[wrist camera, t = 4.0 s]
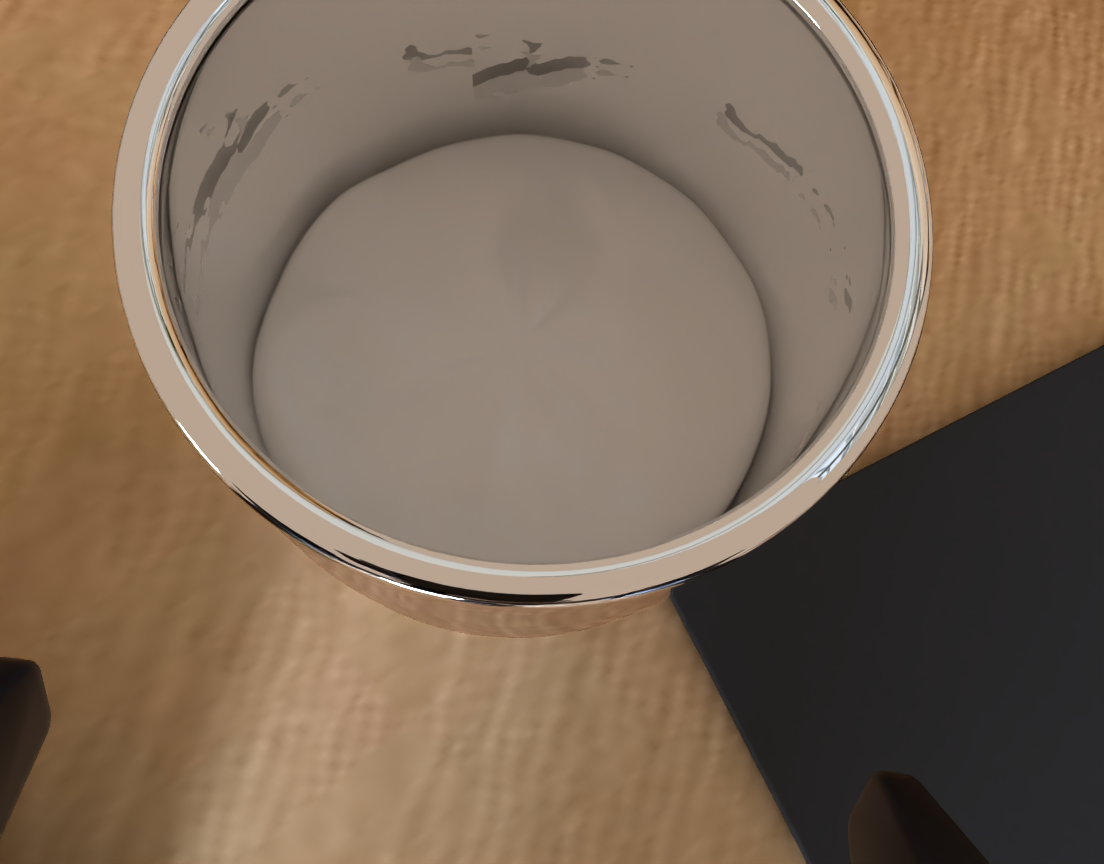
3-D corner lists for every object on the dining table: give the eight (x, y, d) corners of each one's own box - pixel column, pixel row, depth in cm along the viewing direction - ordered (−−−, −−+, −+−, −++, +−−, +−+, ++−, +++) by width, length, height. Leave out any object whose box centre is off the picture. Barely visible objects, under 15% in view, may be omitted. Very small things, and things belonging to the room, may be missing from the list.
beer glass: (322, 412, 22) (-25, -51, 7) (579, 320, 23) (746, -251, 8) (418, 682, 20) (240, 805, 6) (686, 571, 21) (1119, 434, 7)
